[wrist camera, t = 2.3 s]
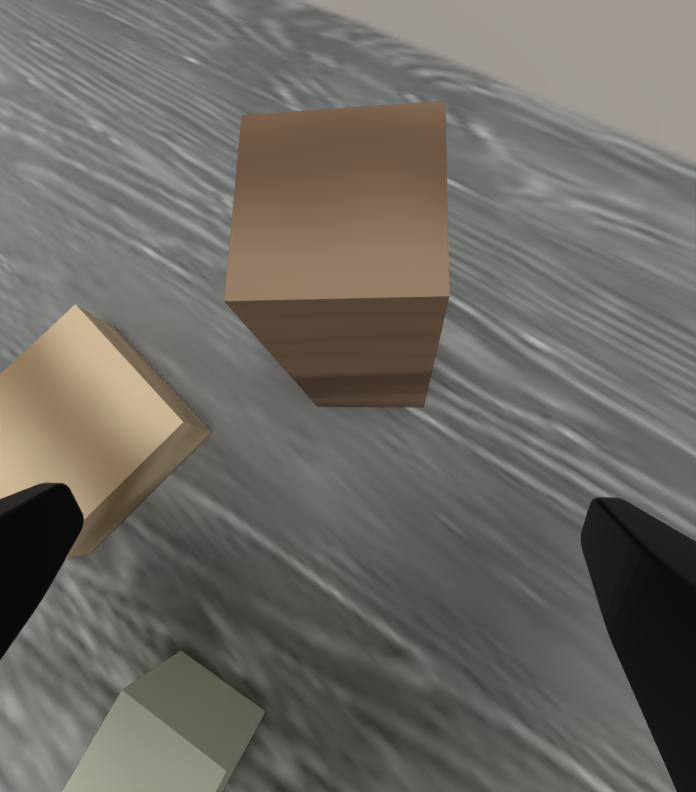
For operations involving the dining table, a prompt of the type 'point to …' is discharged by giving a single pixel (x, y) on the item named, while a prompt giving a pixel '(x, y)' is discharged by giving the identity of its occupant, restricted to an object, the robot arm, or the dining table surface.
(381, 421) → the dining table surface
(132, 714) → the sage cube
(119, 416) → the oak slab
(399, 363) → the walnut block
